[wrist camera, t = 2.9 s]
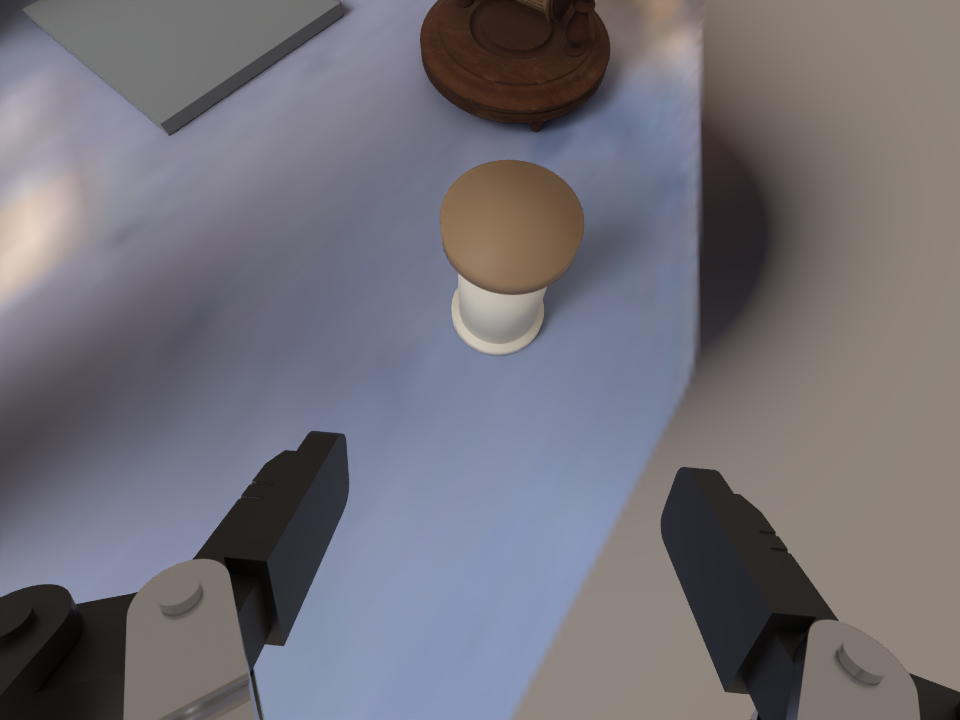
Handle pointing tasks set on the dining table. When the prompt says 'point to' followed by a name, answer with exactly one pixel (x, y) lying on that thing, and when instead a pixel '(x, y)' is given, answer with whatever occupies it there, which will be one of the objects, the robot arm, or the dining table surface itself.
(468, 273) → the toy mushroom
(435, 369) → the dining table surface
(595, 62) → the scroll
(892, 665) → the robot arm
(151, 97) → the mat
